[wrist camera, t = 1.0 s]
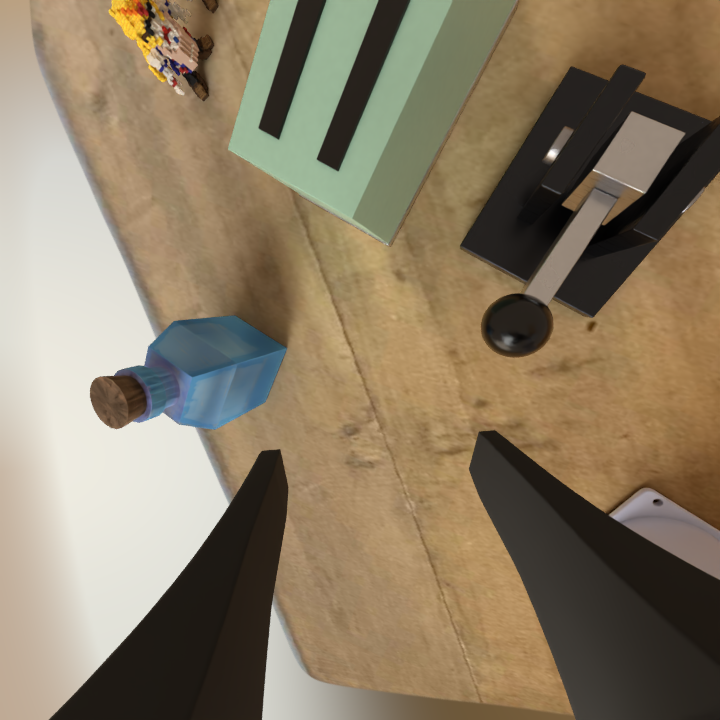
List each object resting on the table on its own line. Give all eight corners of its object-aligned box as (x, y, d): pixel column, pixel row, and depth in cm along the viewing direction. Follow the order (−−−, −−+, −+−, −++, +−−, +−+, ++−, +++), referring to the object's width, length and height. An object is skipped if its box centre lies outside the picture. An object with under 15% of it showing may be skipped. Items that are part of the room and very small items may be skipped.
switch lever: (514, 370, 14) (542, 368, 11) (463, 340, 14) (477, 329, 12) (640, 182, 14) (700, 131, 11) (584, 157, 14) (628, 102, 11)
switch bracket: (584, 316, 18) (650, 328, 12) (459, 248, 20) (459, 227, 13) (729, 147, 15) (929, 38, 8) (563, 80, 16) (628, -55, 10)
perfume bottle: (287, 348, 26) (157, 388, 15) (265, 402, 28) (137, 472, 17) (234, 315, 27) (78, 330, 16) (217, 369, 29) (68, 415, 18)
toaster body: (517, 8, 16) (565, -244, 9) (390, 247, 21) (351, 221, 14) (394, -38, 18) (343, -288, 10) (302, 197, 23) (222, 148, 15)
